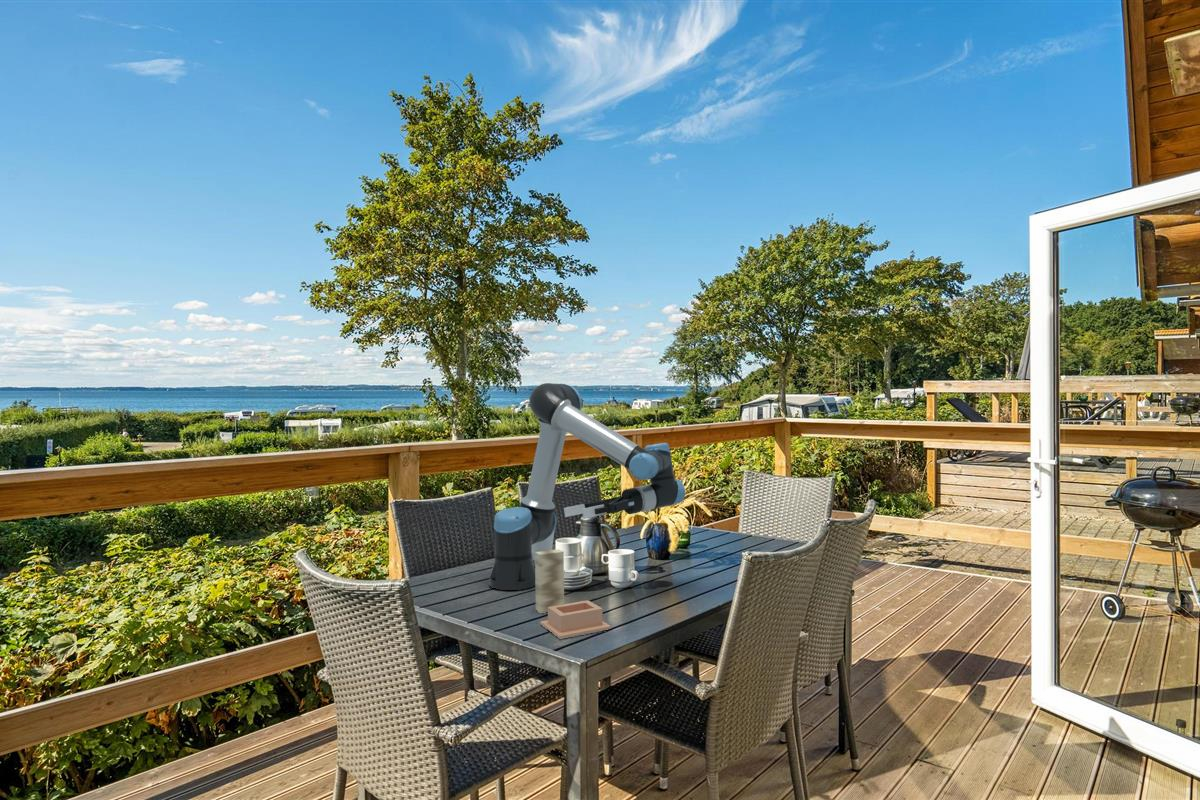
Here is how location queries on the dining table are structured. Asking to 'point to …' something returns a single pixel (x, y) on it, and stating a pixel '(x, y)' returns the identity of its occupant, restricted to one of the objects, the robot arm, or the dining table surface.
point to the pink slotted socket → (575, 619)
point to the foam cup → (543, 545)
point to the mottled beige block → (549, 579)
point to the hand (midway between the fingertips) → (573, 513)
